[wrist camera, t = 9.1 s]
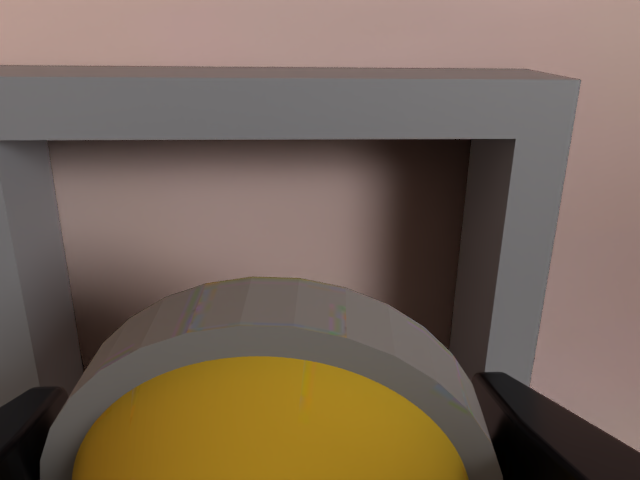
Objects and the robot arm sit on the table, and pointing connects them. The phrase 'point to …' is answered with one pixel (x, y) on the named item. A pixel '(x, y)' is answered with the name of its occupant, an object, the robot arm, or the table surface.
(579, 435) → the robot arm
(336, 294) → the yellow cone shape
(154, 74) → the green box with handle
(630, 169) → the table surface
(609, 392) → the table surface
